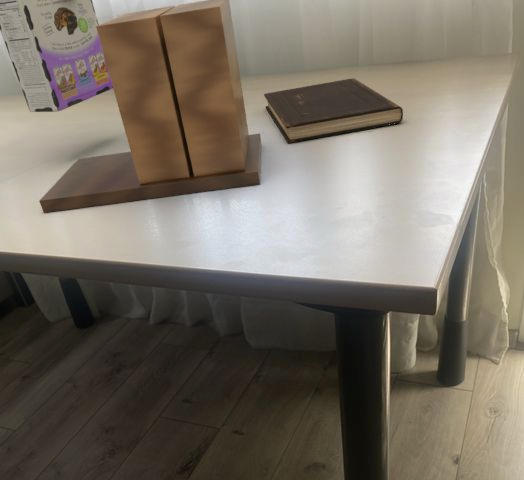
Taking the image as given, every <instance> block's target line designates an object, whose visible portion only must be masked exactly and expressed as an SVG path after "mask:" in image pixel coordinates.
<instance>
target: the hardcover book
mask: <svg viewBox="0 0 524 480" xmlns="http://www.w3.org/2000/svg"><path fill="white" fill-rule="evenodd" d="M263 96H264V98H265V100H266V102H267V105H266V106H265V109H266V110H267V113H268V114H269V115H270V117H271V118H272V120H273V122H274V124H276V126H277V128H278V130H279V132H280V133H281V134H282V136H283V137H284V139H285V141H286V142H287V144H293V143H294V144H295V143H298V142H304V141H310V140H316V139H322V138H326V137H327V138H328V137H333V136H339V135H344V134H349V133H350V134H351V133H355V132H361V131H366V130H365V129H367V130H371V129H370V128H373V129H375V128H374V127H378V128H380V127H379V126H384V125H389V124H394V123H399V124H400V123H401V122H402V121H403V117H404V109H403V107H402V106H400V105H398V104H397V103H395V102H393V101H392V100H390V99H388V98H387V97H386V96H384V95H382V94H381V93H379V92H377V91H376V90H374V89H372V88H371V87H369V86H367V85H366V84H364V83H362V82H361V81H359V80H358V79H356V78H355V77H352V78H346V79H341V80H334V81H329V82H324V83H319V84H318V83H317V84H311V85H307V86H301V87H294V88H290V89H283V90H279V91H278V90H277V91H272V92H267V93H264V94H263ZM384 127H385V126H384Z"/></svg>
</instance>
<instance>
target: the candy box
mask: <svg viewBox="0 0 524 480" xmlns="http://www.w3.org/2000/svg"><path fill="white" fill-rule="evenodd" d="M98 25H100V23H99V20H98V17H97V14H96V10H95V6H94V3H93V0H0V33H1V36H2V39H3V41H4V45H5V47H6V50H7V53H8V56H9V58H10V61H11V64H12V67H13V69H14V72H15V74H16V77H17V81H18V83H19V85H20V88H21V92H22V93H23V97H24V99H25V102H26V105H27V107H28V110H29V113H58V112H61V111H63V110H66V109H67V108H70V107H73V106H75V105H77V104H79V103H82V102H85V101H87V100H89V99H91V98H94V97H97V96H98V95H101V94H103V93H106V92H108V91H111V90H112V89H113V86H112V82H111V79H110V75H109V71H108V68H107V64H106V61H105V57H104V53H103V50H102V46H101V43H100V39H99V35H98V32H97V28H96V26H98Z"/></svg>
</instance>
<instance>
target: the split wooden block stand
mask: <svg viewBox="0 0 524 480" xmlns="http://www.w3.org/2000/svg"><path fill="white" fill-rule="evenodd" d="M231 10H232V9H231V4H230V0H201V1H195V2H188V3H181V4H178V5H177V6H175V5H171V6H165V7H159V8H153V9H147V10H139V11H134V12H128V13H125V14H122V15H120V16H118V17H115V18H113V19H110V20H108V21H105V22H102V23H101V24H100V23H99V25H98V26H96V28H97V32H98V35H99V39H100V43H101V46H102V50H103V53H104V57H105V61H106V64H107V68H108V71H109V75H110V79H111V82H112V86H113V88H112V89H113V93H114V96H115V99H116V100H115V101H116V103H117V107H118V111H119V115H120V118H121V122H122V125H123V129H124V133H125V136H126V139H127V143H128V147H129V150H130V151H124V152H119V153H118V152H117V153H111V154H104V155H103V154H102V155H96V156H90V157H83V158H82V157H81V158H78V159H76V161H75V162H74V163H73V164H72V165H71V166H70V167H69V168H68V169H67V170H66V171H65V172H64V174H63V175H62V176H61V177H60V178H59V179H58V180H57V181H56V182H55V183H54V184H53V185H52V186H51V187H50V189H49V190H48V191H47V192H45V194H44V195H43V196H42V197H41V198H40V199H39V201H38V202H39V204H40V207H41V210H42V212H43V213H53V212H60V211H67V210H76V209H83V208H89V207H91V208H92V207H98V206H104V205H105V206H107V205H113V204H120V203H128V202H129V203H130V202H134V201H135V202H136V201H137V202H138V201H143V200H150V199H151V200H152V199H158V198H167V197H172V196H173V197H175V196H180V195H182V196H183V195H190V194H197V193H205V192H212V191H219V190H226V189H233V188H235V189H236V188H242V187H249V186H256V185H261V170H262V169H261V165H262V138H261V133H253V134H249V127H248V121H247V113H246V106H245V100H244V93H243V86H242V79H241V71H240V66H239V58H238V51H237V45H236V38H235V31H234V24H233V19H232V18H233V16H232V13H231V12H232V11H231Z"/></svg>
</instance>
